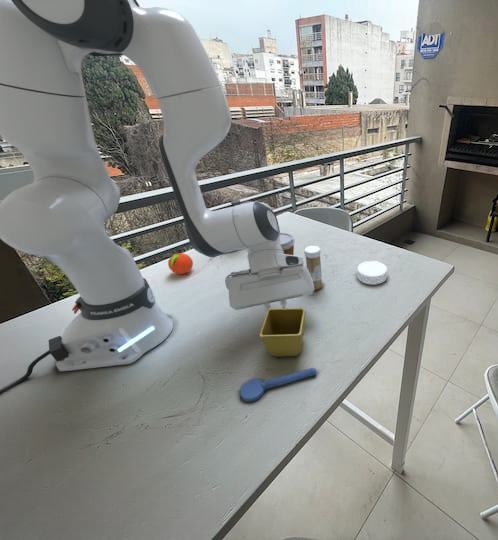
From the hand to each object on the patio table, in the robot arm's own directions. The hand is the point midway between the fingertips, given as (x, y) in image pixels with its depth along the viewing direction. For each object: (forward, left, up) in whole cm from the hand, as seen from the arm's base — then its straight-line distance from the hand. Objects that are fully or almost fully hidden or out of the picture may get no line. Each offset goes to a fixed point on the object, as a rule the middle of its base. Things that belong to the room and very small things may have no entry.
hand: (278, 319), depth 69 cm
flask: (-7, +54, -5) cm, 55 cm away
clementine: (-27, +39, -5) cm, 48 cm away
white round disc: (+32, +16, -5) cm, 36 cm away
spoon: (-3, -15, -5) cm, 16 cm away
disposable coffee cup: (+5, +30, -5) cm, 31 cm away
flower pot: (+1, -6, -5) cm, 8 cm away
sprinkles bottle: (+13, +17, -5) cm, 22 cm away
